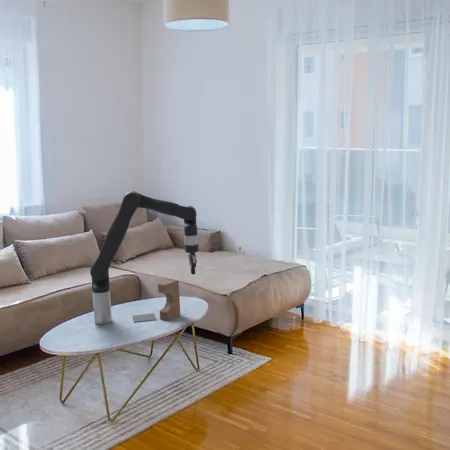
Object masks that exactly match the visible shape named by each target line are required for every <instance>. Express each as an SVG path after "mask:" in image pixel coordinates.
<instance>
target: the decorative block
mask: <svg viewBox="0 0 450 450" xmlns="http://www.w3.org/2000/svg"><path fill="white" fill-rule="evenodd" d="M179 282H180V281H179V280H178V279H169V280H165V281H163V282H159V283H158V284H157V288H158V291H157V292H158V293H160V294H164V296H165V298H166V301H165V305H164V306H163V307H162V309H160V310H159V320H163V321H170V320H172V319H175V318H177V317H180V316H181V303H180V302H181V300H180V299H181V298H180V286H179Z"/></svg>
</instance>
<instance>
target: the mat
mask: <svg viewBox="0 0 450 450" xmlns="http://www.w3.org/2000/svg"><path fill="white" fill-rule="evenodd" d="M132 319H133V323H134V324H135V323H142V322H143V323H144V322H151V321H157V317H156V315H155V313H154V312H153V313H144V314H135V315H132Z"/></svg>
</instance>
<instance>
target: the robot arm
mask: <svg viewBox="0 0 450 450" xmlns="http://www.w3.org/2000/svg"><path fill="white" fill-rule="evenodd" d="M139 208H140V209H148V210H151V211H154V212H156V213H159V214H163V215H167V216H171V217H175V218H178V219H182V220H183V223H184V225H183V227H184V228H183V232H184V239H183V240H184V241H183V242H184V252H185V253H187V254H188V255H187V257H188V264H189V268H190V274H191V275H196V267H197V261H198V259H197V255H196V253H198V252H199V251H200V250H199V236H198V225H197V210H196V208H195V207H194V206H191V205H188V206H186V205H185V206H184V205H180V204H178V203H176V202H171V201H167V200H162V199H158V198H157V199H156V198H153V197H149V196H147V195H144V194H141V193H139V192H137V191H134V190H130V191H128V192H126V193H125V194H124V196H123V198H122V202H121V205H120V208H119V209H118V213H117V215H116V217H115V218H114V220H113V221H112V223H111V225H110V226H109V228H108V231H107V232H106V235H105V236H104V240H103V241H102V242H103V243H102V245H101V249H100V252H99V255H98V256H97V257H96V259H95V262H93V263H92V264H91V266H90V270H89V271H90V272H89V274H90V277H91V293H92V303H93V305H92V306H93V316H94V324H95V325H96V324H98V325H104V324H105V325H106V324H108V323H111V322H112V321H113V316H112V304H111V303H112V302H111V292H110V291H111V288H110V276H109V275H110V273H109V269H110V266H111V264H112V261H113V259H114V257H115V256H116V255H117V252H118V251H119V249H120V247H121V245H122V243H123V242H124V239H125V237H126V235H127V232H128V230H129V226H130V223H131V219H132V218H133V216H134V214H135V213H136V211H137V209H139Z"/></svg>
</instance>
